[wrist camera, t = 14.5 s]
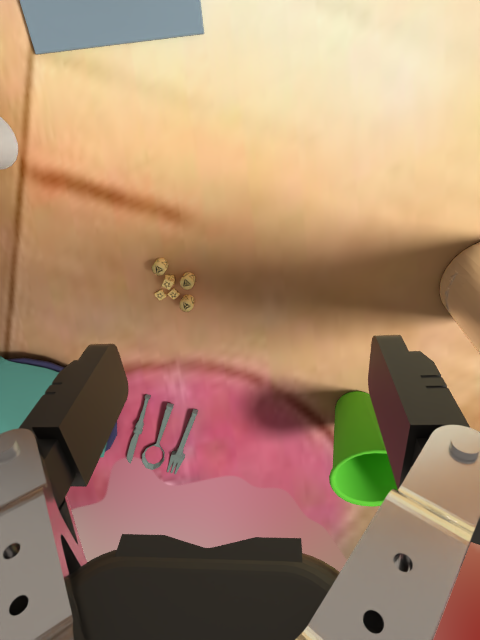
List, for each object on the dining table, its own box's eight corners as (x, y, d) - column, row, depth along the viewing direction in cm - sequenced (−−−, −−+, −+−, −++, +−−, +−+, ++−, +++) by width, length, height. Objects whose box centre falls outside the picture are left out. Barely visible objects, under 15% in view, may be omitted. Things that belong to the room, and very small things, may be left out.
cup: (313, 425, 53) (321, 501, 43) (328, 373, 48) (340, 445, 38) (380, 434, 52) (403, 511, 43) (402, 383, 48) (432, 457, 38)
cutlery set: (-25, 330, 49) (-37, 341, 47) (207, 397, 52) (205, 409, 50) (-20, 432, 59) (-29, 445, 57) (173, 482, 63) (170, 495, 61)
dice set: (157, 253, 42) (152, 260, 40) (203, 267, 42) (200, 274, 41) (150, 293, 45) (145, 301, 43) (193, 306, 45) (190, 314, 43)
